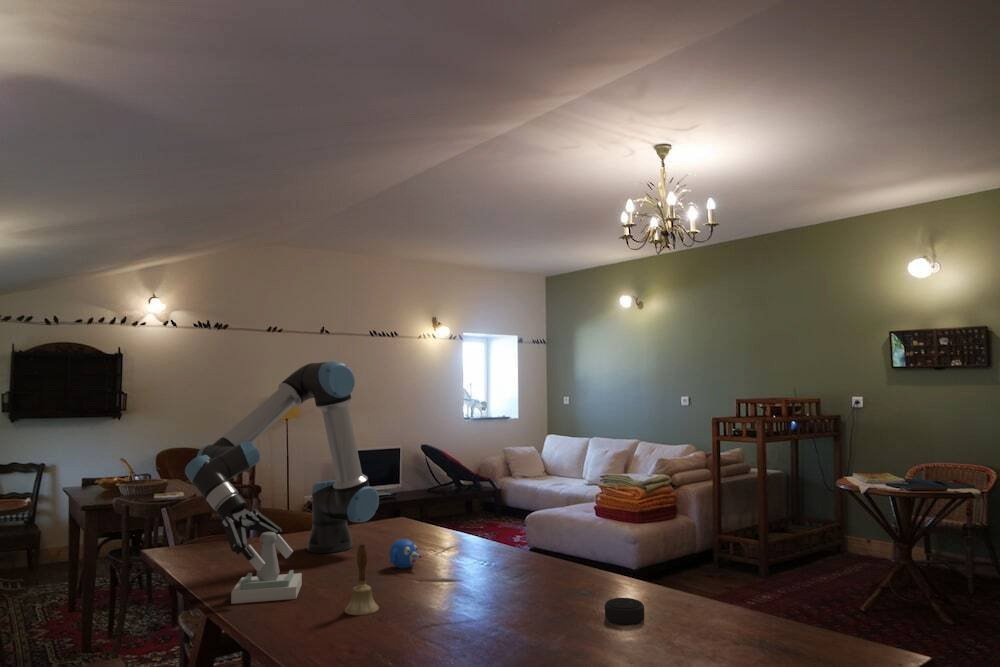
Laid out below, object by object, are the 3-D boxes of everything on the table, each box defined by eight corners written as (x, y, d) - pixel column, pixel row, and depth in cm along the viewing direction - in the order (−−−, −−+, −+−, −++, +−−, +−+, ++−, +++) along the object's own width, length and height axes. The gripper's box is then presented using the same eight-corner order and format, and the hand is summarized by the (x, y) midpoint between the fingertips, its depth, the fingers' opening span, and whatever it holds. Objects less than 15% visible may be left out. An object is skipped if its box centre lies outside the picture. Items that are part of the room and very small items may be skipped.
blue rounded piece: (407, 575, 196) (407, 546, 197) (379, 570, 204) (379, 541, 204) (436, 566, 206) (435, 538, 207) (408, 561, 213) (407, 534, 214)
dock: (301, 584, 191) (301, 567, 191) (296, 598, 177) (296, 581, 177) (241, 588, 188) (241, 571, 188) (231, 603, 174) (231, 585, 174)
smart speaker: (652, 624, 152) (651, 606, 152) (615, 629, 149) (615, 610, 149) (633, 612, 160) (632, 594, 160) (598, 616, 157) (598, 599, 158)
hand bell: (385, 606, 169) (384, 540, 170) (368, 617, 161) (367, 548, 162) (355, 603, 171) (355, 539, 173) (337, 614, 164) (337, 546, 165)
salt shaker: (259, 579, 185) (259, 530, 186) (281, 578, 186) (281, 529, 187) (254, 585, 179) (254, 535, 180) (276, 584, 180) (276, 534, 181)
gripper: (246, 504, 200) (292, 559, 195) (188, 520, 176) (238, 583, 171) (262, 486, 199) (308, 541, 194) (206, 500, 175) (257, 562, 170)
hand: (276, 561), depth 182 cm, fingers open, 13 cm apart
